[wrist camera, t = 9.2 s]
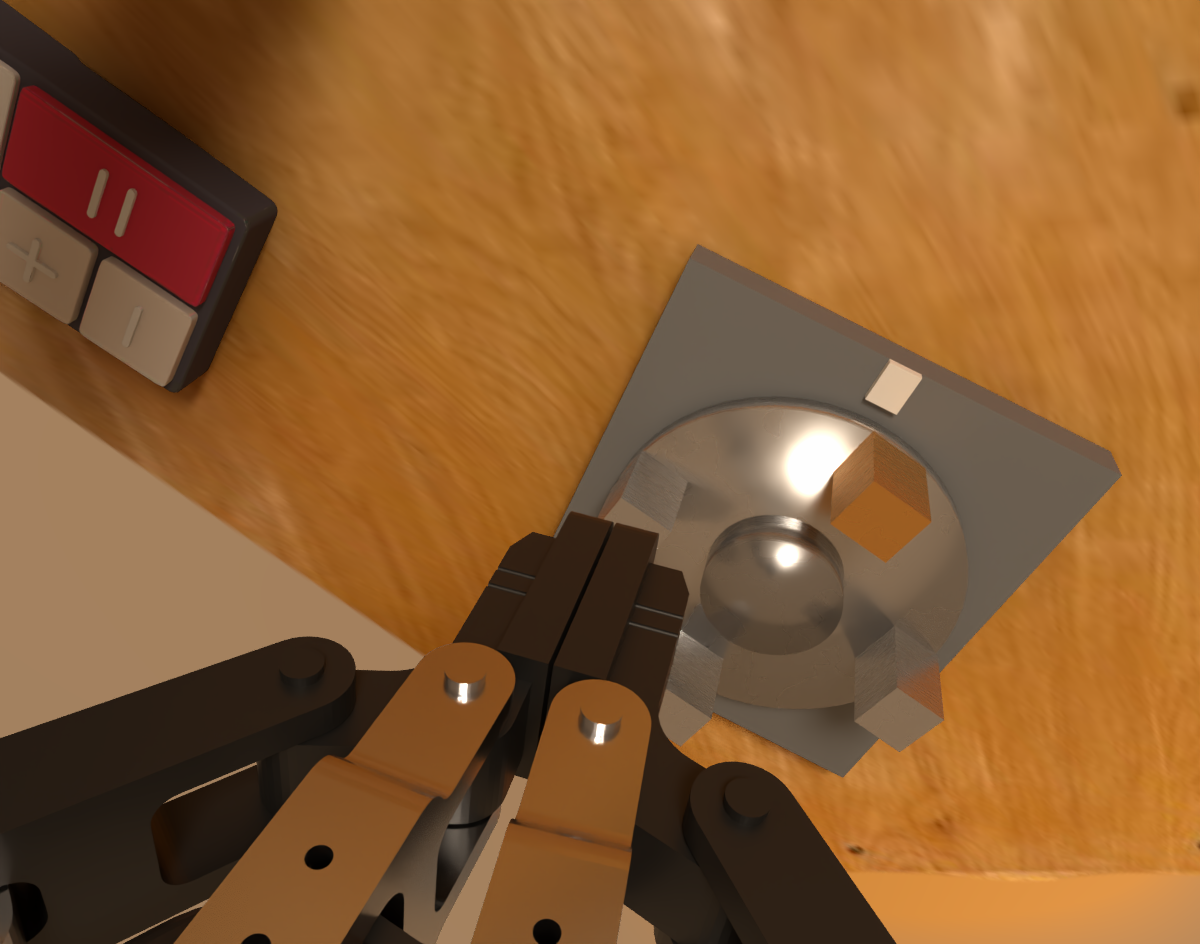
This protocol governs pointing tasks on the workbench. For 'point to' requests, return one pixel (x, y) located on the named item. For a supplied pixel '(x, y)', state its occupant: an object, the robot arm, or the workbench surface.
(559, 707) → the robot arm
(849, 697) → the lugged metal dish
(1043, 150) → the workbench surface
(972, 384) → the base plate
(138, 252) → the calculator
